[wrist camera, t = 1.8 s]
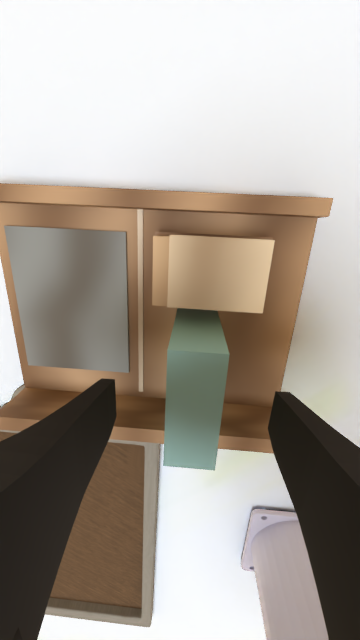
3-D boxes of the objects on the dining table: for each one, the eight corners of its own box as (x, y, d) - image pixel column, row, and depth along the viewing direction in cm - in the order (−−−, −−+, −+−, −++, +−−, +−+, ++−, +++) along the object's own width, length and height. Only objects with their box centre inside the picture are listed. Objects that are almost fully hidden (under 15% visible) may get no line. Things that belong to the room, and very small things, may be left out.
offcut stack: (266, 237, 14) (290, 238, 10) (256, 300, 15) (274, 320, 11) (158, 231, 14) (146, 231, 11) (157, 294, 15) (145, 311, 12)
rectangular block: (217, 309, 15) (229, 354, 10) (208, 392, 17) (214, 470, 12) (177, 306, 15) (167, 349, 10) (174, 389, 17) (163, 465, 12)
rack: (314, 202, 14) (356, 192, 10) (271, 411, 18) (289, 454, 15) (-2, 188, 14) (-67, 174, 11) (33, 392, 19) (-4, 429, 15)
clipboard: (-18, 607, 28) (-101, 378, 18) (-7, 588, 30) (-78, 367, 20) (150, 628, 27) (160, 402, 17) (153, 607, 29) (163, 388, 19)
